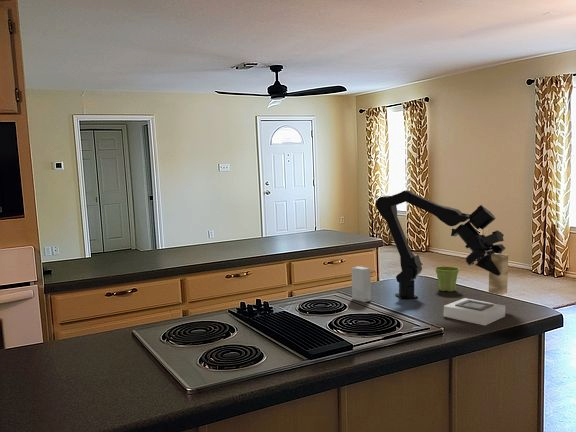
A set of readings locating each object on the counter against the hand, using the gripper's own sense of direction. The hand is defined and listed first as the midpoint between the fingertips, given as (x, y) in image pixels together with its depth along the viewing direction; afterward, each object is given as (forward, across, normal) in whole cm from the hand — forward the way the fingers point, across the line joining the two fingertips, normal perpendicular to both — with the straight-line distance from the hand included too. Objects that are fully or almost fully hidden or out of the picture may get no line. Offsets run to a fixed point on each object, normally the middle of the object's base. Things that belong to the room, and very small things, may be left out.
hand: (502, 274), depth 172 cm
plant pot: (-11, +14, +29) cm, 34 cm away
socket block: (+7, -13, +11) cm, 18 cm away
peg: (+4, 0, +6) cm, 7 cm away
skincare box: (-21, -22, +39) cm, 49 cm away
